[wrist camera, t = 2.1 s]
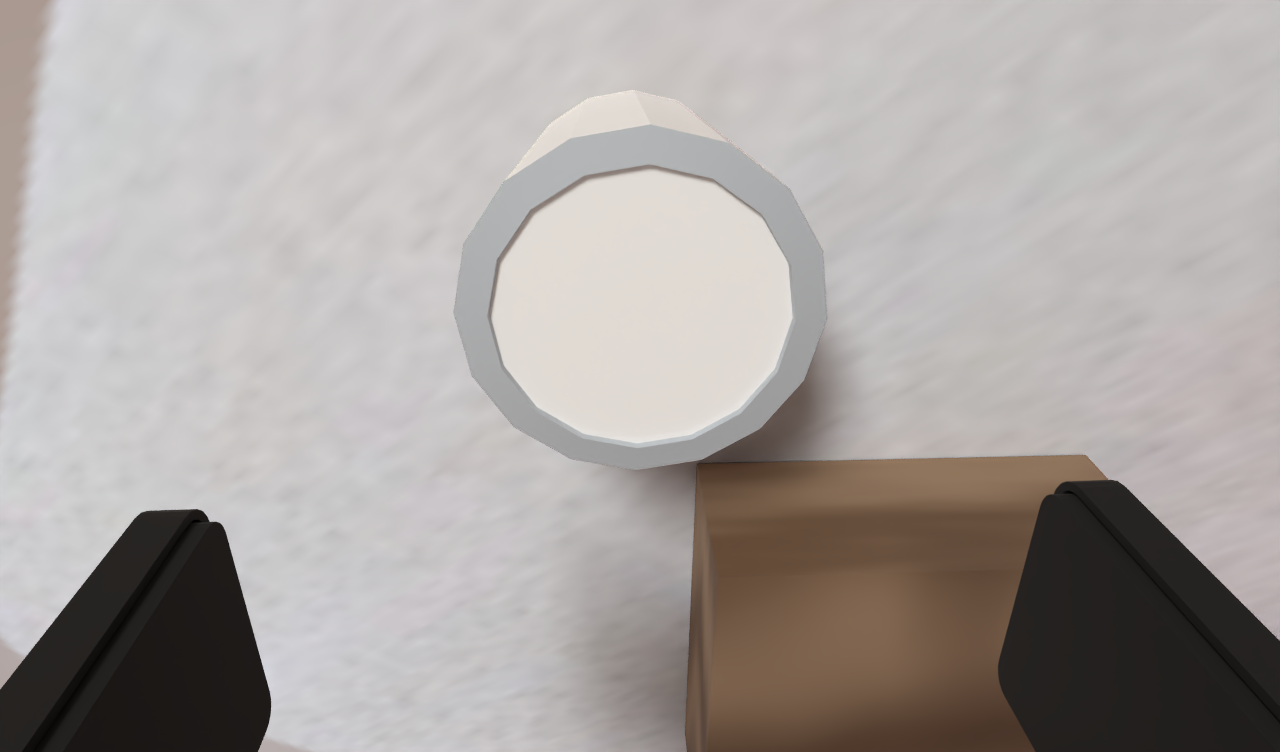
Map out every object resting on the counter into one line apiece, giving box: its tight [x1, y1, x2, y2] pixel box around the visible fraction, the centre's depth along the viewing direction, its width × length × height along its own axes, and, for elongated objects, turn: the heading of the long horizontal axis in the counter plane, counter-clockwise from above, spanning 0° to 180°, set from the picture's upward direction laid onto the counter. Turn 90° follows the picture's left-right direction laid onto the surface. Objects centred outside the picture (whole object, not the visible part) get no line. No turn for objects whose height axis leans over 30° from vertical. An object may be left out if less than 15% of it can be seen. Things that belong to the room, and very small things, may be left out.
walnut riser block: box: [685, 455, 1108, 752], centre depth 26 cm, size 12×12×5 cm
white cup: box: [454, 90, 827, 470], centre depth 18 cm, size 7×7×7 cm
